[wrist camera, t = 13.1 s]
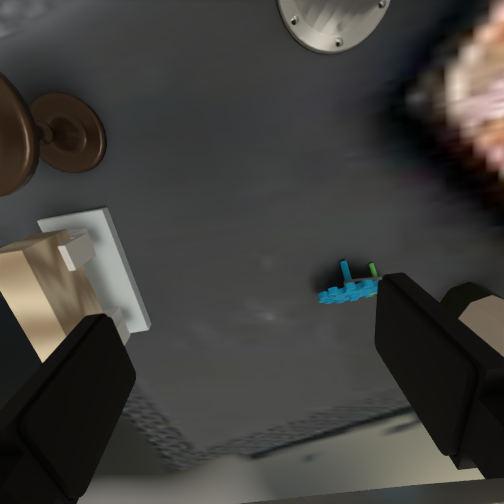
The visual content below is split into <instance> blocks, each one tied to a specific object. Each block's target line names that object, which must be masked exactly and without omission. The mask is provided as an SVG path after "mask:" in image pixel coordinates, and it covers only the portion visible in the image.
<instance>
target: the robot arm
mask: <svg viewBox="0 0 504 504" xmlns="http://www.w3.org/2000/svg"><path fill="white" fill-rule="evenodd" d="M277 2H278V6H279V10H280V14H281V17H282V19H283V21H284V23H285V26H286V28H287V29H288V30H289V32H290V33H291V35H292V36H293V37H294V38H295V39H296V40H297V41H298V42H299V43H300V44H301V45H302V46H304V47H305V48H307V49H309V50H311V51H313V52H316V53H319V54H337V53H341V52H344V51H347V50H350V49H351V48H353V47H354V46H356V45H358V44H359V43H360V42H362V41H363V40H364V39H365V38H366V37H367V36H368V35H369V34H370V33H371V32H372V31H373V30H374V29H375V28H376V27H377V25H378V24H379V22H380V21H381V19H382V18H383V16H384V14H385V12H386V10H387V8H388V6H389V3H390V0H277ZM378 5H379V6H380V8H379V7H378ZM292 21H294V22H295V25H293V24H292V23H291V22H292ZM335 43H338V45H339V46H338V47H337V46H336V44H335ZM375 346H376V349H377V351H378V353H379V355H380V356H381V358H382V360H383V361H384V363H385V364H386V366H387V368H388V369H389V371H390V372H391V374H392V376H393V377H394V379H395V380H396V382H397V384H398V385H399V387H400V388H401V390H402V392H403V393H404V395H405V396H406V398H407V400H408V401H409V403H410V404H411V406H412V408H413V409H414V411H415V412H416V414H417V416H418V417H419V419H420V420H421V422H422V424H423V425H424V427H425V428H426V430H427V431H428V433H429V435H430V436H431V438H432V440H433V441H434V443H435V444H436V446H437V447H438V449H439V450H440V452H441V453H442V454H443V455H445V456H449V457H450V458H451V460H452V461H453V463H454V464H455V466H456V468H457V469H458V470H461V469H470V468H478V469H479V471H480V472H481V474H482V475H483V476H484V478H485V479H482V480H470V481H459V482H447V483H434V484H423V485H411V486H402V487H393V488H383V489H373V490H365V491H354V492H345V493H335V494H325V495H316V496H306V497H297V498H287V499H278V500H269V501H260V502H251V503H242V504H504V357H503V356H502V355H501V354H500V353H499V352H497V351H496V350H495V349H494V348H493V347H491V346H490V345H489V344H488V343H487V342H486V341H484V340H483V339H482V338H481V337H480V336H478V335H477V334H476V333H475V332H474V331H472V330H471V329H470V328H469V327H468V326H467V325H465V324H464V323H463V322H462V321H461V320H459V319H458V318H457V317H456V316H455V315H453V314H452V313H451V312H450V311H449V310H448V309H446V308H445V307H444V306H443V305H442V304H440V303H439V302H438V301H437V300H436V299H434V298H433V297H432V296H431V295H430V294H428V293H427V292H426V291H425V290H424V289H423V288H421V287H420V286H419V285H418V284H417V283H415V282H414V281H413V280H412V279H411V278H409V277H408V276H407V275H406V274H405V273H394V274H386V275H384V276H383V278H382V279H381V280H379V281H378V288H377V306H376V324H375ZM135 380H136V372H135V369H134V367H133V365H132V363H131V360H130V358H129V356H128V353H127V351H126V349H125V346H124V344H123V342H122V340H121V337H120V335H119V333H118V330H117V328H116V326H115V323H114V321H113V319H112V318H111V317H108V316H107V315H106V314H104V313H100V314H93V315H87V316H85V317H84V318H83V319H82V320H81V321H80V322H79V323H78V324H77V325H76V326H75V328H74V329H73V330H72V331H71V332H70V333H69V334H68V335H67V336H66V338H65V339H64V340H63V341H62V342H61V343H60V344H59V345H58V346H57V348H56V349H55V350H54V351H53V352H52V353H51V354H50V355H49V356H48V358H47V359H46V360H45V361H44V362H43V363H42V364H41V365H40V367H39V368H38V369H37V370H36V371H35V372H34V373H33V375H31V377H30V378H29V379H28V380H27V381H26V382H25V383H24V384H23V385H22V387H21V388H20V389H19V390H18V391H17V392H16V393H15V395H13V397H12V398H11V399H10V400H9V401H8V402H7V403H6V404H5V405H4V407H3V408H2V409H1V410H0V504H76V503H77V501H78V499H79V497H81V496H83V495H84V493H85V492H86V490H87V488H88V486H89V484H90V482H91V479H92V477H93V475H94V473H95V470H96V468H97V466H98V464H99V461H100V459H101V457H102V454H103V453H104V450H105V448H106V446H107V444H108V441H109V439H110V437H111V435H112V433H113V430H114V428H115V426H116V424H117V421H118V419H119V417H120V415H121V412H122V410H123V408H124V406H125V404H126V401H127V399H128V397H129V395H130V392H131V390H132V388H133V386H134V383H135Z"/></svg>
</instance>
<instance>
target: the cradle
mask: <svg viewBox="0 0 504 504" xmlns="http://www.w3.org/2000/svg"><path fill="white" fill-rule="evenodd" d="M37 222H38V224H39V226H40V228H41V230H42V232H43V233H45V232H51V231H57V230H64V229H67V230H68V232H69V235H70V237H71V240H69V241H67V242H65V243H63V244H61V245H60V246H58V249H59V251H60V253H61V255H62V257H63V259H64V261H65V263H66V266H67V268H68V270H69V271H73V270H77V269H78V268H79V267H81V266H82V265H83V267H84V269H85V271H86V274H87V276H88V278H89V281H90V283H91V285H92V288H93V290H94V292H95V295H96V297H97V299H98V302H99V304H100V306H101V308H102V311H103V313H104V314H106V315H107V316H108V317H111V318H112V319H113V321H114V323H115V326H116V328H117V330H118V333H119V335H120V337H121V340H122V342H123V344H124V346H125V344H126V342H127V341H128V339H129V337H130V336H131V335H130V333H133V332H139V331H146V330H149V328H150V326H151V322H150V319H149V316H148V314H147V311H146V308H145V306H144V303H143V300H142V298H141V295H140V292H139V290H138V287H137V285H136V282H135V279H134V277H133V274H132V271H131V269H130V266H129V263H128V261H127V258H126V255H125V253H124V250H123V247H122V245H121V242H120V239H119V237H118V234H117V231H116V229H115V226H114V224H113V221H112V218H111V216H110V213H109V210H108V208H107V207H106V208H100V209H94V210H89V211H83V212H77V213H72V214H66V215H60V216H55V217H49V218H44V219H41V220H38V221H37Z"/></svg>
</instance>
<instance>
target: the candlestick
mask: <svg viewBox="0 0 504 504" xmlns="http://www.w3.org/2000/svg"><path fill="white" fill-rule="evenodd" d="M106 147H107V138H106V133H105V129H104V127H103V124H102V122H101V120H100V119H99V117H98V115H97V114H96V113H95V112H94V110H93V109H92V108H91V107H90V106H88V105H87V104H86V103H85V102H83V101H82V100H80V99H78V98H76V97H74V96H71V95H68V94H64V93H59V92H50V93H45V94H42V95H40V96H39V97H37V98H36V99H35V100H34V101H32V103H31V104H30V106H29V107H28V105H27V104H26V102H25V100H24V99H23V97H22V96H21V94H20V93H19V91H18V90H17V89H16V88H15V87H14V85H13V84H12V83H11V82H10V81H9V80H8V79H7V77H6V76H5V75H3V74H2V73H1V72H0V197H1V196H6V195H10V194H12V193H14V192H16V191H18V190H20V189H21V188H22V187H23V186H25V185H26V184H27V183H28V182H29V181H30V179H31V178H32V176H33V175H34V173H35V170H36V168H37V165H38V162H39V156H40V157H41V159H42V160H44V161H45V162H46V163H47V164H49V165H50V166H52V167H54V168H55V169H58V170H60V171H63V172H68V173H81V172H85V171H89V170H91V169H93V168H95V167H96V166H97V165H98V164H99V163H100V162H101V161H102V159H103V157H104V155H105V152H106Z"/></svg>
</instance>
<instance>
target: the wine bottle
mask: <svg viewBox="0 0 504 504" xmlns="http://www.w3.org/2000/svg"><path fill="white" fill-rule="evenodd" d="M440 304H442V305H443V306H444V307H445V308H446V309H448V310H449V311H450V312H451V313H452V314H453V315H455V316H456V317H457V318H458V319H459V320H461V321H462V322H463V323H464V324H465V325H467V326H468V327H469V328H470V329H471V330H472V331H474V332H475V333H476V334H477V335H478V336H480V337H481V338H482V339H483V340H484V341H486V342H487V343H488V344H489V345H490V346H491V347H493V348H494V349H495V350H496V351H497V352H499V353H500V354H501V355H502V356H503V357H504V299H503V298H502V297H500V296H498V295H496V294H495V293H493V292H491V291H490V290H488V289H486V288H484V287H482V286H479V285H477V284H474V283H472V282H468V283H465V284H463V285H460V286H457V287H454V288H451V289H450V290H449V292H448V293H447V294H446V295H445V297H444V298H443V299H442V301H441V302H440Z"/></svg>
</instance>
